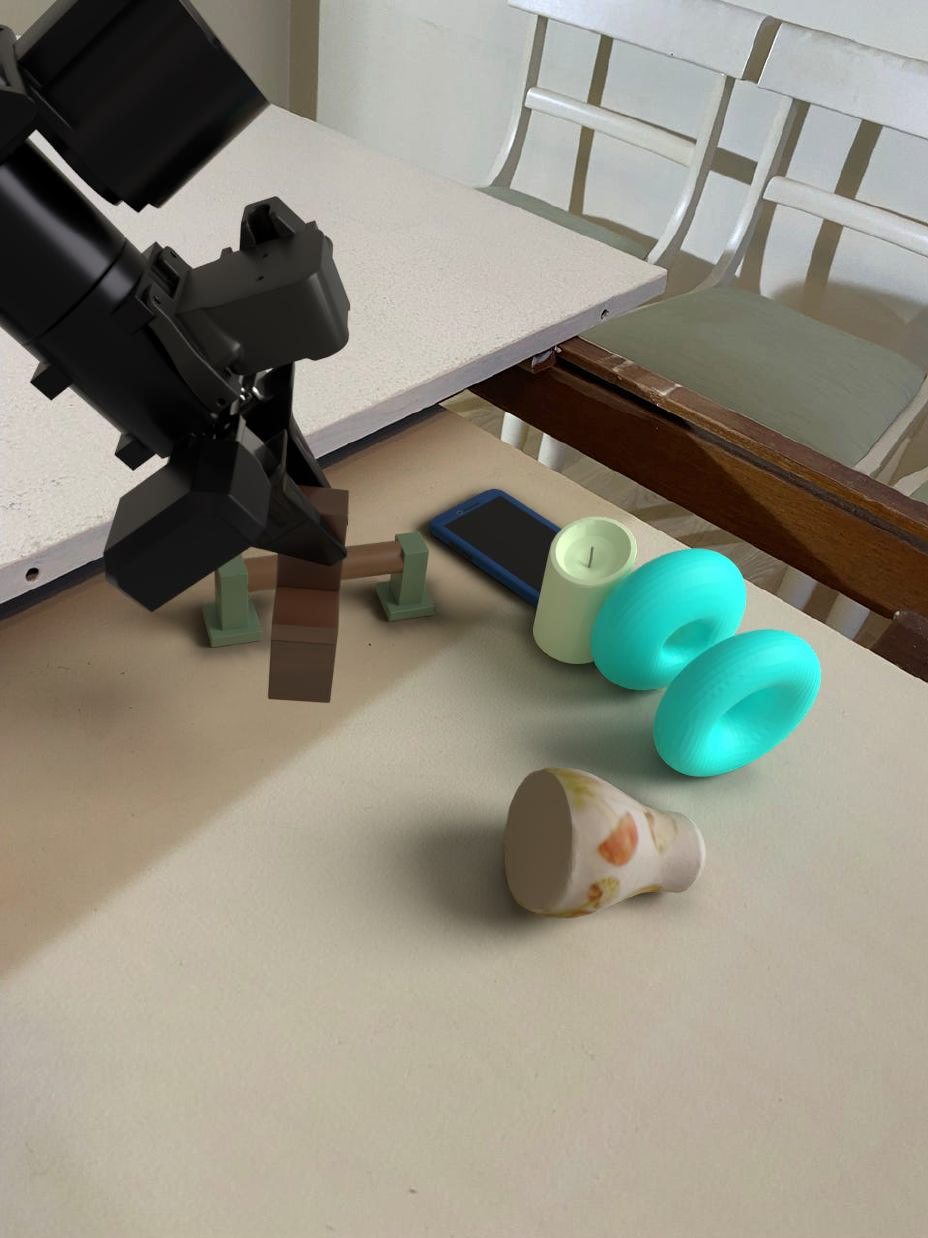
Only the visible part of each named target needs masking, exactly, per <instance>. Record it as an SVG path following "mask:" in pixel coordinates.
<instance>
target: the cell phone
mask: <svg viewBox="0 0 928 1238" xmlns="http://www.w3.org/2000/svg"><path fill="white" fill-rule="evenodd" d="M428 529H429V531H430V533H431V534H432V535H433V536H434V537H435V538H437V539H438V540H440V541H441V542H442V543H444V544H445V545H446V546H448V547H450V548H451V549H452V550H454V551H455V552H456V553H458V554H459V555H461V556H463V558H465V559H466V560H468V561H469V562H471V563H472V564H473V565H475V566H476V567H478V568H479V569H481V570H482V571H484V572H485V573H487V574H488V575H489V576H490V577H492V578H493V579H495V580H496V581H498V582H499V583H500V584H502V585H504V586H505V587H506V588H508V589H509V590H511V591H512V592H514V593H515V594H516V595H518V596H519V597H521V598H522V599H524V600H525V601H526V602H528V603H529V604H531V605H532V606H533V607H535V608H537V607H538V602H539V597H540V593H541V588H542V583H543V579H544V574H545V569H546V564H547V560H548V555H549V551H550V547H551V543H552V541H553V539H554V538H555V536H556V534H557V533H559V532H560V531H561V530H562V529H563V528H561V527H560V526H558V525H556V523H554V522H552V521H550V520H549V519H548V518H545V517H544V516H543V515H541V514H540V513H538V512H536V511H535V510H534V509H532V508H530V507H528V506H527V505H526V504H524V503H523V502H521V501H519V500H518V499H516V498H515V497H514V496H512V495H511V494H508V493H507V492H505V491H504V490H502V489H498V488H491V489H490V488H489V489H487V490H485V491H482V492H481V493H479V494H477V495H474V496H473V497H470V498H469V499H467V500H464V501H463V502H461V503H459V504H457V505H455V506H453V507H451V508H449V509H448V510H445V511H444V512H441V513H440V514H438V515H436V516H434V517H433V518H431V519H430V521H429V524H428Z"/></svg>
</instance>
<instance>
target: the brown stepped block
mask: <svg viewBox="0 0 928 1238" xmlns="http://www.w3.org/2000/svg"><path fill="white" fill-rule="evenodd" d="M297 486H298V487H299V489H300V490H301V491H302V492H303V493H304V495H305V496H306V497H307V498H308V500H309V501H310V502H311V503H312V504H313V506H314V507H315V508H316V509H317V511H318V512H319V513H320V514H321V515H322V517H323V518H324V519H325V520H326V522H327V523H328V524H329V525H330V526H331V528H332V529H333V530H334V532H335V533H336V535H337V536H338V537H339V539H340V540H341V541H342V543H343V544H344V546H346V539H347V531H348V526H347V523H348V524H349V505H350V504H349V502H350V490H348V489H344V488H343V489H342V488H333V487H331V488H323V487H312V486H302V485H297ZM277 554H278V553H277ZM277 554H276V555H277ZM342 568H343V560H342V561H341V562H339V563H337V564H336V565H334V566H325V565H321V564H317V563H313V562H309V561H305V560H301V559H298V558H294V557H290V556H286V555H282V554H278V555H277V573H276V589H274V597H273V599H274V600H273V608H272V617H271V629H270V647H269V648H270V649H269V665H268V667H269V668H268V684H267V685H268V687H267V689H268V690H267V698H268V700H273V701H290V702H291V701H292V702H306V703H307V702H308V703H320V704H321V703H322V704H330V703H331V699H332V689H333V682H334V672H335V665H336V664H335V663H336V655H337V645H338V637H339V628H340V627H339V625H340V600H341V599H340V598H341V587H342V580H341V577H342Z"/></svg>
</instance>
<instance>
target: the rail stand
mask: <svg viewBox="0 0 928 1238" xmlns="http://www.w3.org/2000/svg"><path fill="white" fill-rule="evenodd" d="M345 547H346V548H347V557H346V558H345V559H344V560H343V568H342V577H341V581H348V580H355V579H363V578H369V577H377V576H386V575H387V576H388V575H390V578H389V580H385V581H378V582H376V586H375V593H376V595H377V597H378V600H379V602H380V604H381V606H382V609H383V610H384V613H385V615H386V617H387V621H389V622H395V621H402V620H403V621H404V620H408V619H415V618H416V619H417V618H423V617H429V616H430V617H431V616H433V615H434V614H435V608H436V607H435V603H434V602H433V599H431V596H430V594H429V592H428V590H427V588H426V586H425V585H426V576H427V569H428V563H429V556H430V550H429V548H428V546H427V544H426V541H425V540H424V539H423V536H422V534H421V532H420V531H411V532H403V533H396V534H395V535H394V540H389V541H387V540H386V541H380V542H372V543H364V544H355V545H347V546H346V545H345ZM277 555H278V553H276V554H269V555H261V556H253V557H243V554H242V553H241V554H239V555H238V556H236V557H235V558H233V559H232V560H230V561H229V562H227V563H226V564H224V565H223V566H221V567H220V568H218V569H217V570H215V571H214V572H213V573H214V601H215V603H209V604H203V605H202V617H203V620H204V625H205V628H206V631H207V635H208V640H209V643H210V646H211V648H218V647H219V648H220V647H227V646H234V645H240V644H246V643H252V642H261V641H262V640H263V630H262V627H261V623H260V621H259V617H258V614H257V611H256V608H255V604H254V601H253V599H252V598H249V593H255V592H256V593H257V592H262V591H271V590H275V589H276V573H277Z"/></svg>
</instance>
